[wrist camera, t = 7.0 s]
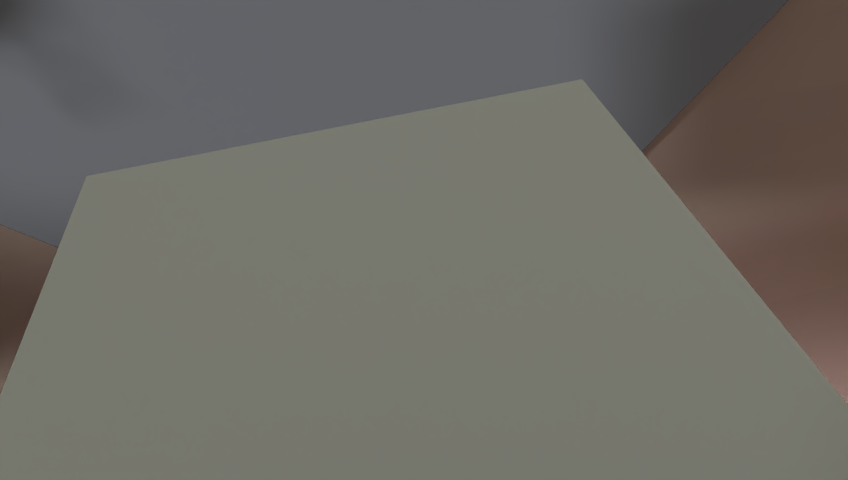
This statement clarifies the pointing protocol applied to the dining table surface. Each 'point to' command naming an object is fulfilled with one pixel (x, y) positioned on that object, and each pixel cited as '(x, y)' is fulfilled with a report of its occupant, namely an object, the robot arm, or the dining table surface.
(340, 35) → the mat
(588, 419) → the cube
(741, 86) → the dining table surface
